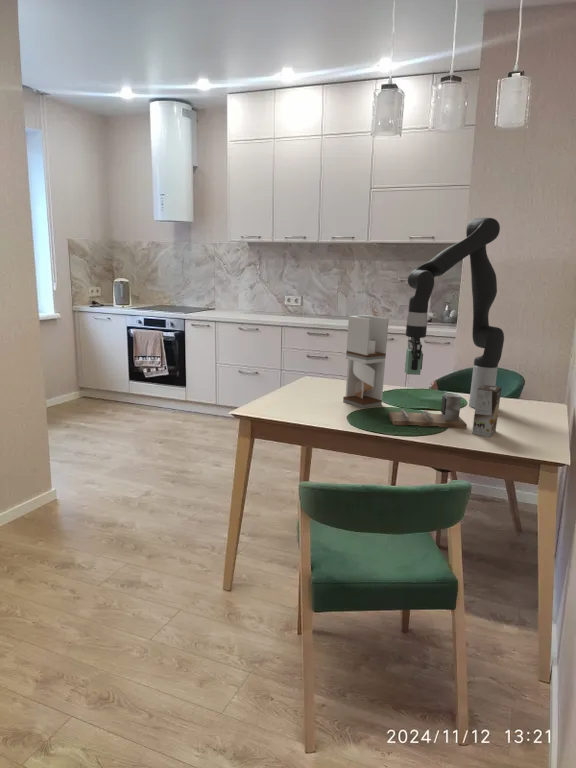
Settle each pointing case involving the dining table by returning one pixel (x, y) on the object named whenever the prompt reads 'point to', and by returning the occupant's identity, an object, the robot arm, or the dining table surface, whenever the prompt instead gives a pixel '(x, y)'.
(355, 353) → the white dispenser tower
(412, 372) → the green rectangular block
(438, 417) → the rail
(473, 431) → the coffee box
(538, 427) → the dining table surface
